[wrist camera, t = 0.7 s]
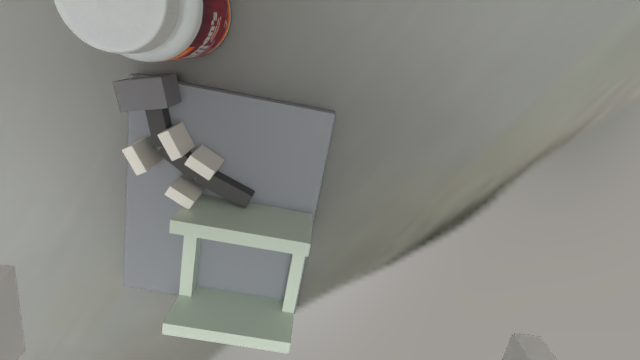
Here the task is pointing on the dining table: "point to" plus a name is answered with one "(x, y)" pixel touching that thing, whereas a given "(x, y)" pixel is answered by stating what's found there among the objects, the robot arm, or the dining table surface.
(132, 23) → the pill bottle
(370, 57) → the dining table surface
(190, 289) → the end holder
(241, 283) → the board
